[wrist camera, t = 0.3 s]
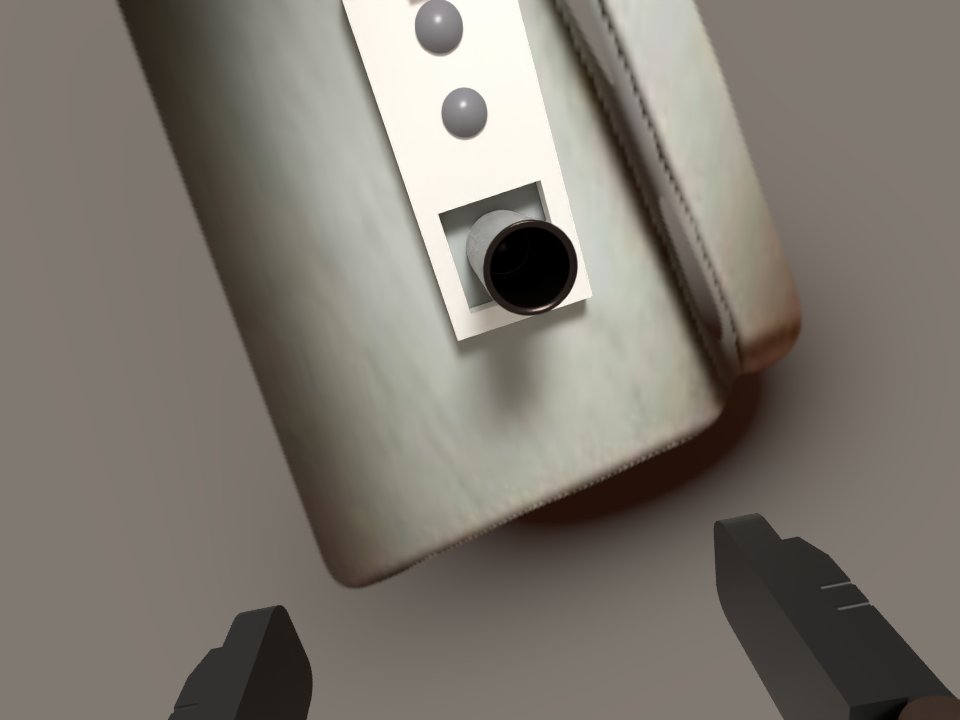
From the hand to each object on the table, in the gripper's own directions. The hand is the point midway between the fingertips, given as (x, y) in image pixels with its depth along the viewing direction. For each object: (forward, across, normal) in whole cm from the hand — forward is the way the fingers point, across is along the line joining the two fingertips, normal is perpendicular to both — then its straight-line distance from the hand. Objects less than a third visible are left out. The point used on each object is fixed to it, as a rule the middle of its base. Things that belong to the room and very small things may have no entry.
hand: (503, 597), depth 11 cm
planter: (+28, -3, 0) cm, 29 cm away
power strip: (+29, -2, -10) cm, 31 cm away
